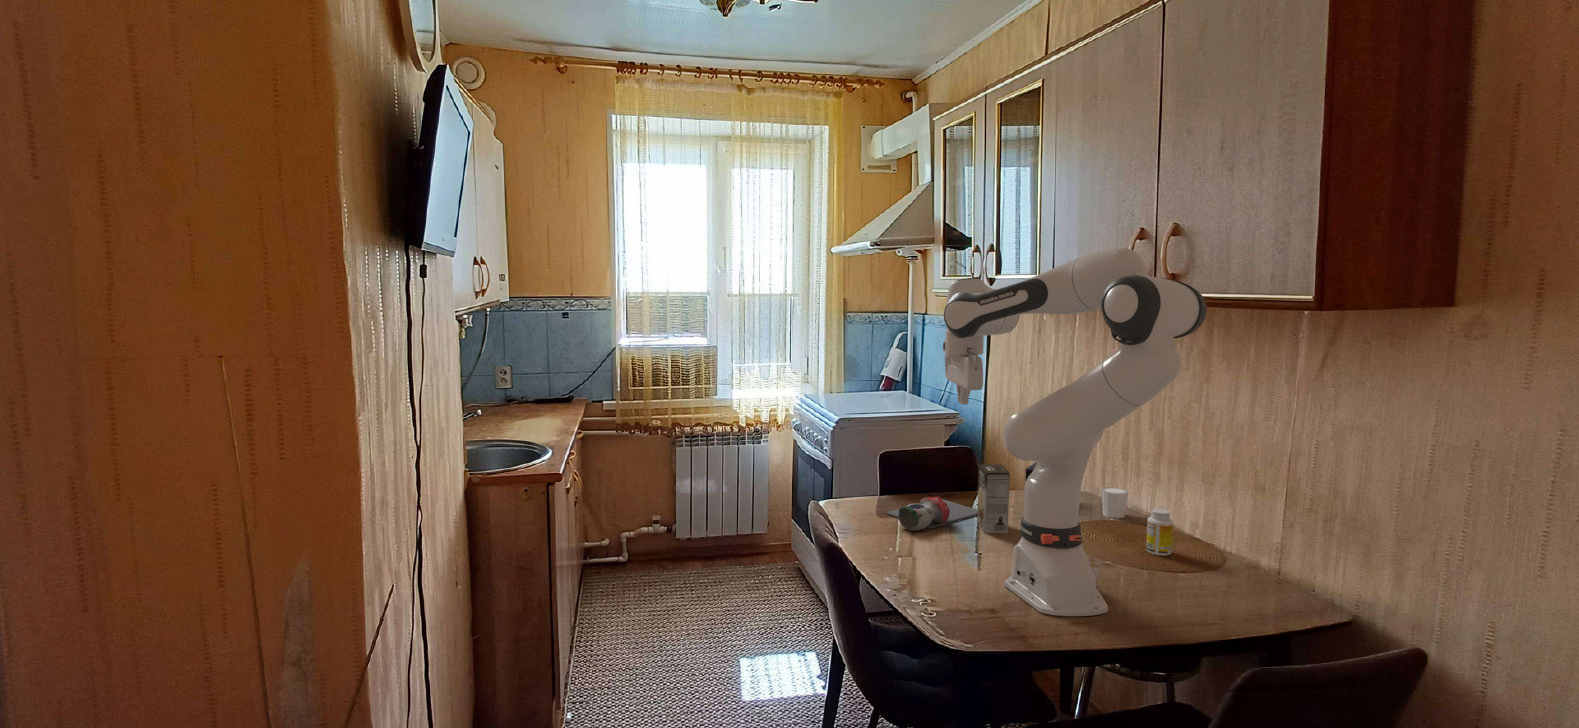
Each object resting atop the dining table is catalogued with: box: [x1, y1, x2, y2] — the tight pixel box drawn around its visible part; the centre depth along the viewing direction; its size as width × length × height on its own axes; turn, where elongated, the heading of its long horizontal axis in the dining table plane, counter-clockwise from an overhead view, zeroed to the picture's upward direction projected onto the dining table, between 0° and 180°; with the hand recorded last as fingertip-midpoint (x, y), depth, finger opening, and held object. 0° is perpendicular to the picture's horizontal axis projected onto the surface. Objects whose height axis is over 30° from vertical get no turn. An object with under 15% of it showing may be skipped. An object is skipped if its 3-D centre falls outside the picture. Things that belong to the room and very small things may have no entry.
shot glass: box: [1101, 487, 1129, 519], centre depth 212 cm, size 7×7×7 cm
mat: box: [885, 498, 978, 530], centre depth 213 cm, size 22×16×1 cm
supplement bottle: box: [1145, 508, 1174, 557], centre depth 183 cm, size 6×6×10 cm
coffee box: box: [976, 463, 1011, 534], centre depth 201 cm, size 9×6×16 cm
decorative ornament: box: [897, 496, 950, 531], centre depth 203 cm, size 9×6×15 cm
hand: (963, 403), depth 185 cm, fingers closed
